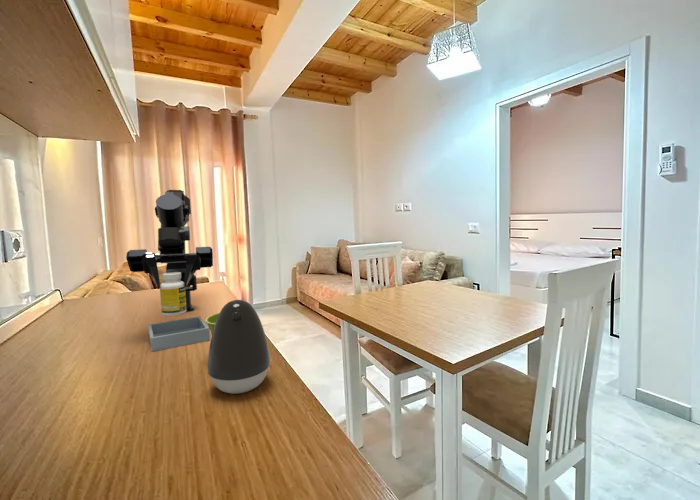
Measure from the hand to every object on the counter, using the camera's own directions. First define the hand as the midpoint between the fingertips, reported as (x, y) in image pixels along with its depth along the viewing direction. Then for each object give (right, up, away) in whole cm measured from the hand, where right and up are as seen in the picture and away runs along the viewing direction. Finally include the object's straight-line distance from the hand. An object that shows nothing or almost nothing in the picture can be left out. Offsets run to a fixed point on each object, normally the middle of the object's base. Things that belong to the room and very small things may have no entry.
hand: (172, 286), depth 79 cm
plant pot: (+17, -14, -9) cm, 24 cm away
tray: (0, -13, +3) cm, 13 cm away
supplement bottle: (0, -7, +2) cm, 7 cm away
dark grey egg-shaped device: (+23, -15, -21) cm, 35 cm away
